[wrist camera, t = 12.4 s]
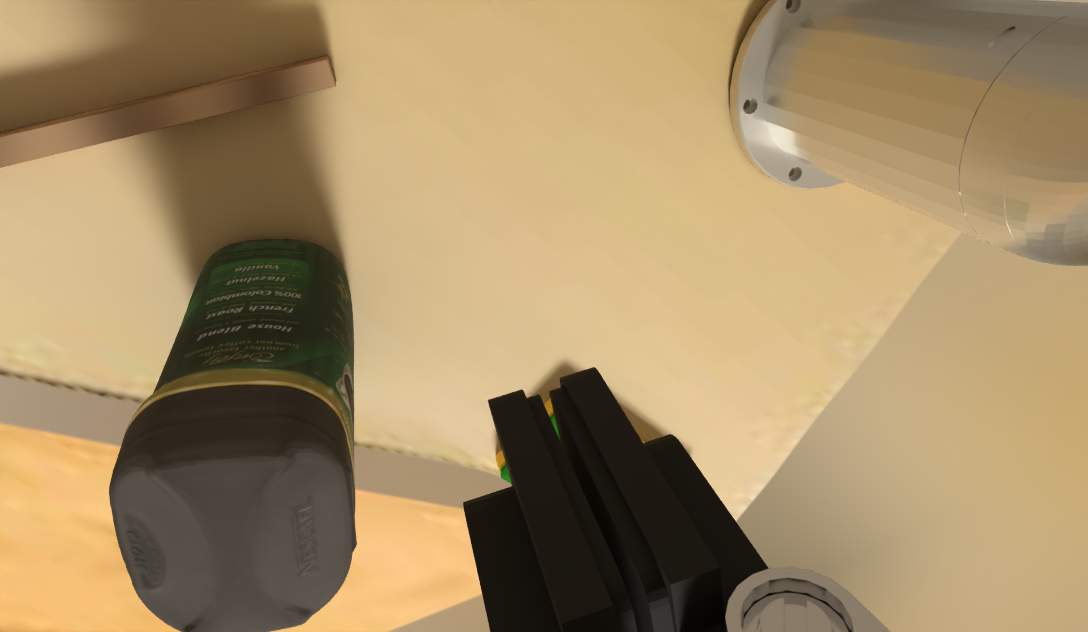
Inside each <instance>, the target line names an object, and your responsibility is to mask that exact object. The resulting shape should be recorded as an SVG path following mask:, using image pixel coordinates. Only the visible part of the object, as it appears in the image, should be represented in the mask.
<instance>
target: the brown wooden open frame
mask: <svg viewBox="0 0 1088 632" xmlns="http://www.w3.org/2000/svg"><path fill="white" fill-rule="evenodd" d="M335 86H336V78H335V75H334V72H333V69H332V66H331V63H330V60H329V57H328V55H326V56H322V57H317V58H313V59H309V60H305V61H300V62H296V63H292V64H288V65H283V66H279V67H275V68H271V69H267V70H262V71H258V72H254V73H250V74H245V75H241V76H237V77H233V78H228V79H224V80H220V81H216V82H212V83H207V84H203V85H199V86H195V87H190V88H186V89H182V90H178V91H173V92H169V93H165V94H161V95H157V96H152V97H148V98H144V99H140V100H135V101H131V102H127V103H123V104H118V105H114V106H110V107H106V108H102V109H97V110H93V111H89V112H85V113H80V114H76V115H72V116H68V117H63V118H59V119H55V120H51V121H47V122H42V123H38V124H34V125H30V126H25V127H21V128H17V129H13V130H8V131H4V132H0V168H1V167H5V166H9V165H13V164H17V163H21V162H26V161H30V160H34V159H38V158H42V157H46V156H50V155H54V154H59V153H63V152H67V151H71V150H75V149H79V148H83V147H87V146H92V145H96V144H100V143H104V142H108V141H112V140H116V139H120V138H125V137H129V136H133V135H137V134H141V133H145V132H149V131H153V130H158V129H162V128H166V127H170V126H174V125H178V124H182V123H186V122H190V121H195V120H199V119H203V118H207V117H211V116H215V115H219V114H223V113H228V112H232V111H236V110H240V109H244V108H248V107H252V106H256V105H261V104H265V103H269V102H273V101H277V100H281V99H285V98H289V97H294V96H298V95H302V94H306V93H310V92H314V91H318V90H322V89H327V88H331V87H335Z"/></svg>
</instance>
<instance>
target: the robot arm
mask: <svg viewBox="0 0 1088 632" xmlns="http://www.w3.org/2000/svg"><path fill="white" fill-rule="evenodd" d="M787 1H788V4H787V6H786V3H787ZM745 101H746V104H745V106H744V103H745ZM743 106H744V107H743ZM730 114H731V119H732V124H733V129H734V133H735V135H736V137H737V140H738V142H739V145H740V147H741V149H742V151H743V152H744V153H745V155H746V156H747V158H748V159H749V161H750V162H751V163H752V164H753V165H754V166H755V167H756V168H757V169H759V170H760V171H761V172H762V173H763V174H765V175H767V176H769V177H770V178H772V179H774V180H776V181H777V182H780V183H782V184H785V185H787V186H790V187H794V188H802V189H820V188H828V187H831V186H835V185H838V184H842V183H844V182H848V183H850V184H853V185H855V186H857V187H860V188H862V189H864V190H867V191H869V192H871V193H874V194H876V195H878V196H880V197H883V198H885V199H887V200H890V201H892V202H894V203H897V204H899V205H901V206H904V207H906V208H908V209H910V210H913V211H915V212H917V213H920V214H922V215H924V216H927V217H929V218H931V219H934V220H936V221H938V222H940V223H943V224H945V225H947V226H950V227H952V228H954V229H957V230H959V231H961V232H964V233H966V234H968V235H971V236H973V237H975V238H978V239H980V240H983V241H985V242H988V243H990V244H993V245H995V246H997V247H999V248H1002V249H1004V250H1006V251H1009V252H1011V253H1013V254H1016V255H1018V256H1021V257H1024V258H1027V259H1030V260H1034V261H1038V262H1042V263H1048V264H1053V265H1065V266H1066V265H1067V266H1087V265H1088V3H1078V2H1058V1H1038V0H769V1H768V2H767V3H766V4H765V5H764V7H763V8H762V10H761V11H760V13H759V14H758V15H757V17H756V18H755V20H754V21H753V23H752V24H751V26H750V28H749V30H748V32H747V34H746V36H745V38H744V40H743V42H742V44H741V46H740V49H739V52H738V55H737V58H736V62H735V65H734V68H733V74H732V80H731V87H730ZM560 385H561V388H558V389H555V390H551V391H550V399H551V403H552V408H553V412H554V416H555V421H556V425H557V429H558V434H559V437H558V435H557V432H556V430H555V428H554V426H553V423H552V421H551V419H550V417H549V415H548V412H547V410H546V408H545V406H544V404H543V401H542V399H541V397H540V395H535V396H532V397H529V398H526V396H525V393H524V391H523V390H519V391H516V392H512V393H509V394H506V395H503V396H499V397H496V398H493V399H490V400H488V403H489V407H490V410H491V414H492V417H493V421H494V424H495V428H496V431H497V435H498V438H499V442H500V445H501V449H502V452H503V456H504V459H505V463H506V466H507V470H508V473H509V477H510V480H511V484H512V487H509V488H506V489H503V490H500V491H496V492H493V493H490V494H487V495H484V496H481V497H479V498H475V499H472V500H469V501H466V502H464V503H463V505H464V512H465V517H466V521H467V526H468V530H469V535H470V540H471V544H472V549H473V553H474V558H475V563H476V567H477V572H478V576H479V581H480V586H481V590H482V595H483V599H484V604H485V609H486V613H487V618H488V622H489V627H490V632H890V631H889V630H888V629H887V628H886V627H885V626H884V625H883V624H882V623H881V622H880V621H879V620H878V619H877V618H876V617H875V616H874V615H872V613H871V612H870V611H868V610H867V609H866V608H865V607H864V606H863V605H862V604H861V603H860V602H859V601H858V600H857V599H856V598H855V597H854V596H853V595H852V594H851V593H850V592H848V591H847V590H846V589H844V588H843V587H842V586H840V585H839V584H838V583H836V582H835V581H834V580H832V579H831V578H828V577H826V576H823V575H821V574H819V573H816V572H814V571H812V570H807V569H800V568H794V567H779V568H768V567H767V566H766V564H765V563H764V561H763V560H762V558H761V557H760V555H759V554H758V553H757V551H756V550H755V548H754V547H753V545H752V544H751V543H750V541H749V540H748V538H747V537H746V536H745V534H744V533H743V531H742V530H741V528H740V527H739V525H738V524H737V523H736V521H735V520H734V518H733V517H732V515H731V514H730V513H729V511H728V510H727V508H726V507H725V506H724V504H723V503H722V501H721V500H720V498H719V497H718V496H717V494H716V493H715V491H714V490H713V488H712V487H711V486H710V484H709V483H708V481H707V480H706V478H705V477H704V476H703V474H702V473H701V471H700V470H699V468H698V467H697V466H696V464H695V463H694V461H693V460H692V458H691V457H690V456H689V454H688V453H687V451H686V450H685V448H684V447H683V446H682V444H681V443H680V442H679V440H678V439H677V438H676V437H675V436H673V435H671V434H670V435H667V436H664V437H661V438H658V439H655V440H652V441H648V442H645V443H643V442H642V441H641V439H640V437H639V436H638V434H637V433H636V431H635V429H634V428H633V426H632V425H631V423H630V421H629V420H628V418H627V417H626V415H625V413H624V412H623V410H622V409H621V407H620V405H619V404H618V402H617V400H616V399H615V397H614V396H613V394H612V392H611V391H610V389H609V388H608V386H607V384H606V383H605V381H604V380H603V378H602V376H601V375H600V373H599V372H598V370H597V369H596V368H595V367H593V368H590V369H586V370H583V371H580V372H577V373H574V374H570V375H567V376H564V377H561V378H560ZM559 438H560V439H559Z"/></svg>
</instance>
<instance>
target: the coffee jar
mask: <svg viewBox="0 0 1088 632" xmlns="http://www.w3.org/2000/svg"><path fill="white" fill-rule="evenodd" d="M109 496H110V505H111V509H112V514H113V521H114V526H115V531H116V536H117V540H118V544H119V547H120V550H121V554H122V557H123V560H124V562H125V564H126V568H127V571H128V573H129V575H130V578H131V580H132V584H133V587H134V589H135V591H136V593H137V595H138V597H139V598H140V599H141V601H142V602H143V603H144V604H145V606H146V607H147V608H148V609H149V610H150V611H151V612H152V613H153V614H155V615H156V616H157V617H158V618H159V619H161V620H162V621H163V622H165V623H166V624H168V625H170V626H171V627H173V628H175V629H177V630H179V631H181V632H270V631H275V630H280V629H285V628H290V627H295V626H298V625H302V624H303V623H305V622H306V621H307V620H308V619H309V618H310V617H311V616H312V615H313V614H315V613H316V612H318V611H319V610H320V609H321V608H322V607H324V606H325V605H326V604H327V603H328V602H329V601H330V600H331V599H332V598H333V597H334V595H335V594H336V593H337V592H338V590H339V589H340V587H341V586H342V584H343V583H344V581H345V579H346V576H347V574H348V571H349V568H350V564H351V559H352V552H353V551H354V549H355V547H356V545H357V541H356V531H355V485H354V330H353V312H352V302H351V295H350V290H349V285H348V281H347V277H346V273H345V271H344V269H343V267H342V265H341V263H340V262H339V261H338V260H337V258H336V257H335V256H334V255H333V254H332V253H331V252H329V251H328V250H326V249H324V248H323V247H321V246H318V245H316V244H313V243H310V242H305V241H300V240H289V239H281V240H280V239H264V240H252V241H245V242H240V243H235V244H231V245H229V246H226V247H224V248H222V249H220V250H219V251H217V252H216V253H215V254H213V255H212V256H211V257H210V259H209V260H208V261H207V262H206V264H205V266H204V268H203V270H202V272H201V274H200V277H199V279H198V281H197V284H196V286H195V289H194V291H193V294H192V297H191V299H190V302H189V305H188V308H187V311H186V313H185V316H184V319H183V322H182V324H181V327H180V329H179V332H178V334H177V337H176V339H175V342H174V344H173V347H172V349H171V351H170V354H169V356H168V359H167V361H166V364H165V366H164V369H163V371H162V374H161V376H160V378H159V381H158V383H157V386H156V388H155V390H154V392H153V394H152V395H151V396H150V397H149V398H148V399H146V400H145V402H144V403H143V404H142V405H141V406H140V407H139V409H138V410H137V411H136V413H135V415H134V416H133V417H132V419H131V421H130V423H129V425H128V427H127V430H126V433H125V436H124V439H123V443H122V446H121V449H120V452H119V455H118V458H117V461H116V464H115V467H114V469H113V474H112V478H111V482H110V487H109Z"/></svg>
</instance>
